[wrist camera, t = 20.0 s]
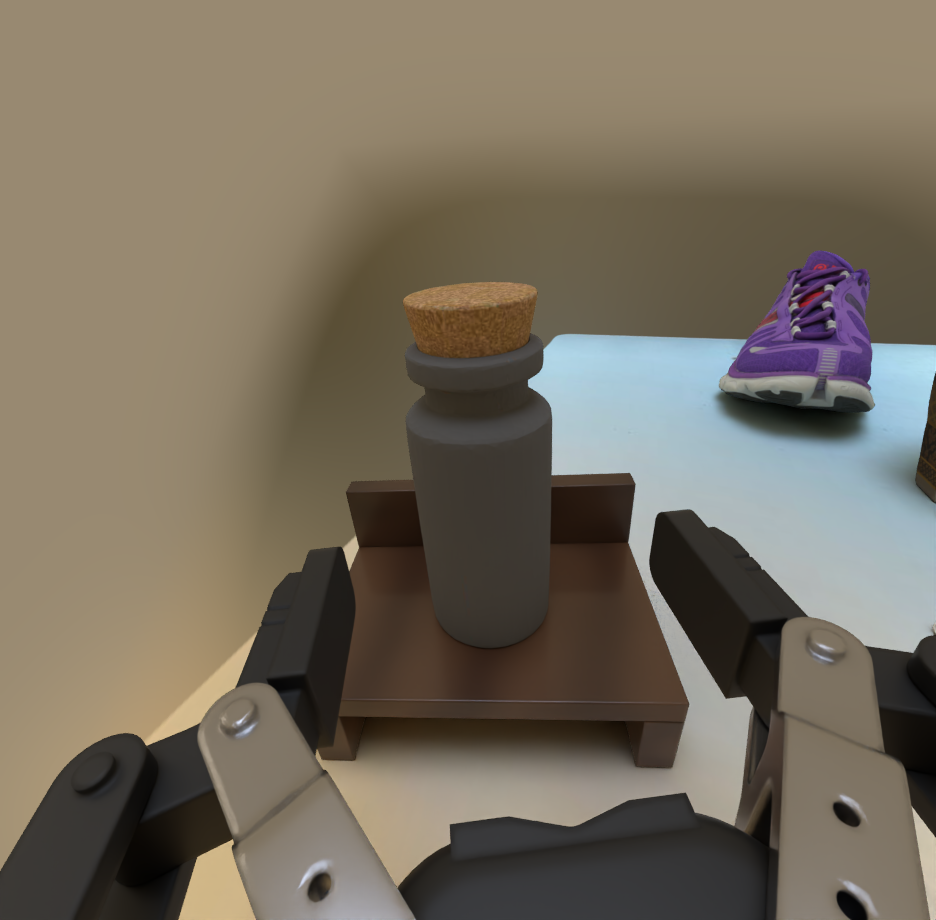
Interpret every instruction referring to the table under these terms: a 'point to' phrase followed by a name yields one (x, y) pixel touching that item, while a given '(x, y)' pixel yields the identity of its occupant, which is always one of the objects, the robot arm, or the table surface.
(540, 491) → the bottle
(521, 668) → the bench
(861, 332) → the running shoe
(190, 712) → the table surface
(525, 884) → the robot arm
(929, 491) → the ceramic cup
